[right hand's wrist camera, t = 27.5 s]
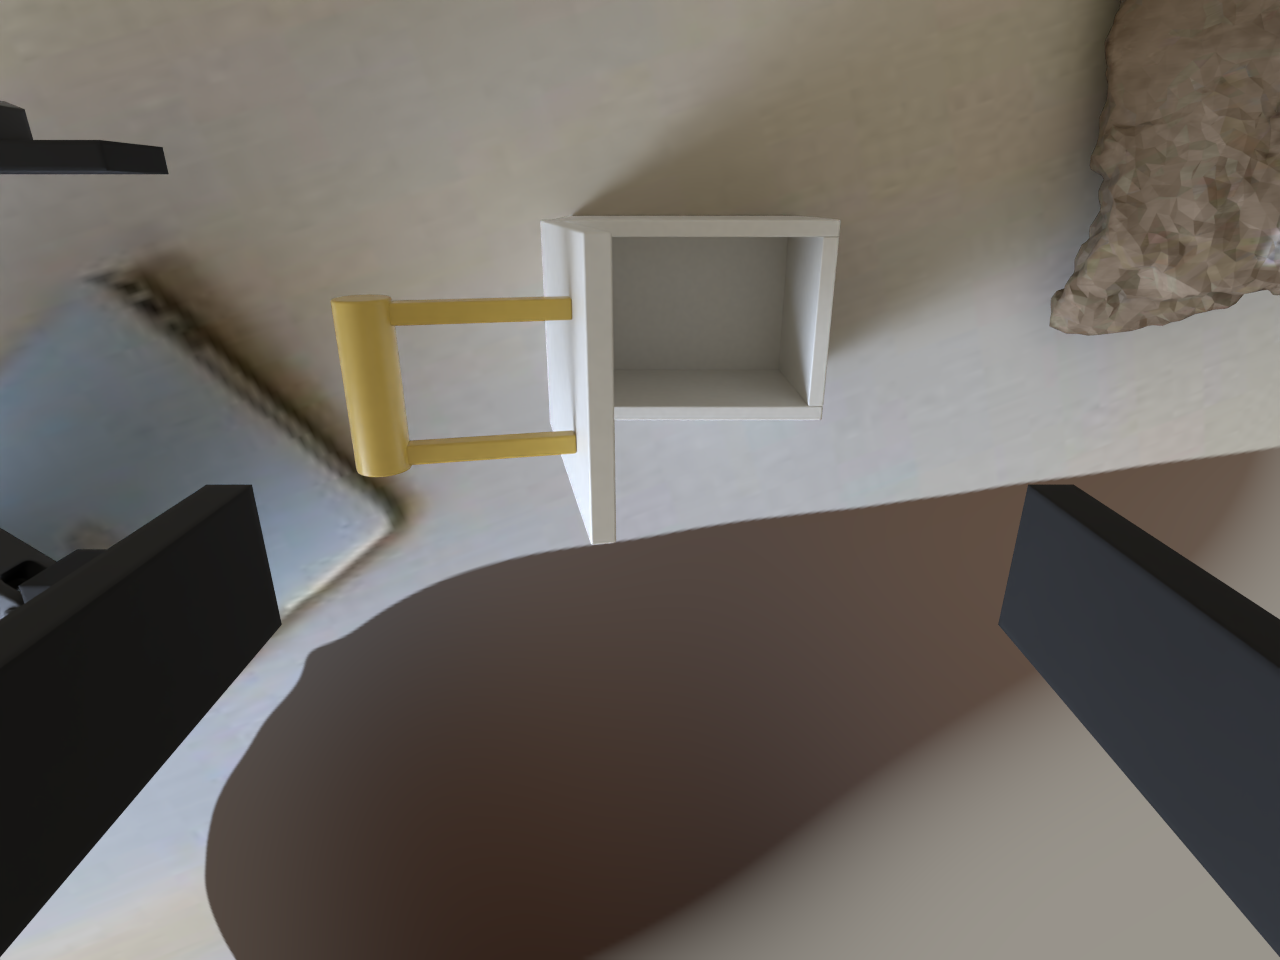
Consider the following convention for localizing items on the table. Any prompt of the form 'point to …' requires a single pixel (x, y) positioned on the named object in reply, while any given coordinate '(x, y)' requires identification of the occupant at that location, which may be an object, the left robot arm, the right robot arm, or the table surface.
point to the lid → (573, 362)
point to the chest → (720, 315)
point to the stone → (1182, 167)
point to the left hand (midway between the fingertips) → (192, 389)
